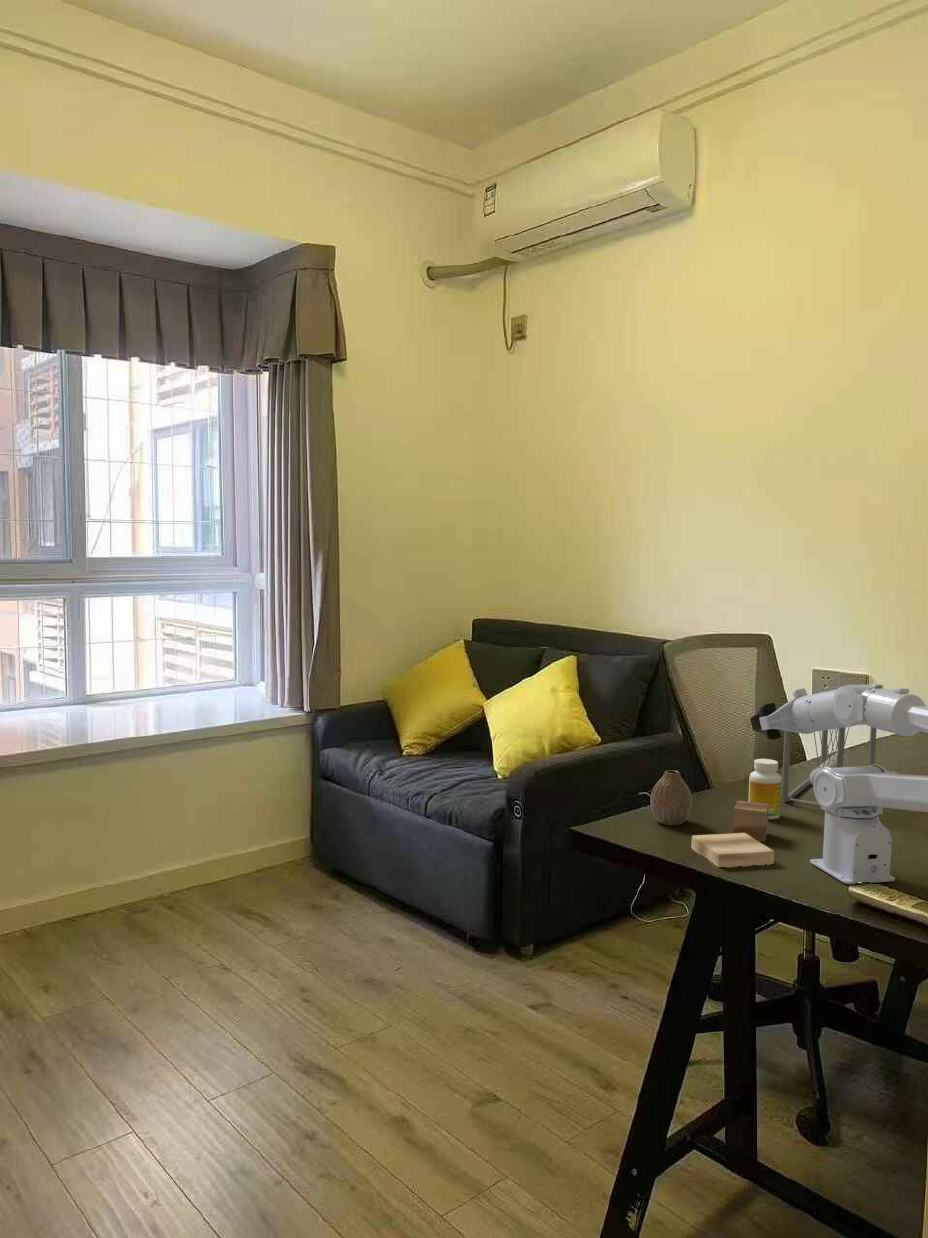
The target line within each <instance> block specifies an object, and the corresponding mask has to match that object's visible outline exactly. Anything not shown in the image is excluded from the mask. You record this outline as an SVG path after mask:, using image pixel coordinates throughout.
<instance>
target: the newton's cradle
mask: <svg viewBox="0 0 928 1238" xmlns="http://www.w3.org/2000/svg"><path fill="white" fill-rule="evenodd" d="M826 691H829V690H828V689H826V688H824V689H822V690H821V691H818V692H817V693H819V692H826ZM846 728H847V733H846ZM849 730H850V727H845V728H837V729H830V730H823V731H818V732H819V738H820V739H819V740H820V745H821V748H820V761H819V756H818V749H817V748H818V747H817V741H816V733H815V732H816V731H815V732H814V733H813V737H814V743H815V744H814V746H815V752H816V759H817V765H818V766H817V767H816V768H814V769H813V770H812V771H811V772H810V774H809V777H807V778H806V779H805V780H804V781H803V782H802V783H800V784H799V785H798V786H797V787H795V788H793V790H791V791H790V792H789V776H790V758H791V741H792V739H791V735H792V732H790V731H785V730H783V731H784V733H783V734H784V736H783V754H782V759H783V760H782V773H781V775H782V776H781V779H782V783H781V799H782V801H783V802H784V803H789V802H797V803H801V804H802V803H803V804H808V805H809V804H810V805H815V806H820V804H819V803H818V802H816V801H811V800H810V801H808V800H801V799H796V798H795V797H797V795H799V794H800V793H801V792H803V791H804V790H805V789H806V788H808V787H809V786H810V785H812V786H813V784H814V779H815V775H816V773H817V772H818V770H820V769H821V768H823V767H830V768H839V767H851V760H850V758H849V756H848V755H846V754H845V746H846V742H847V738H848V735H849ZM877 730H878V729H876V728H872V727H870V731H869V734H870V735H869V746H868V747H869V752H868V765H867V766H869V765H871V764H876V745H877ZM833 733H835V736H834V739H833ZM829 734H830V738H829V740H828V737H829ZM828 741H829V742H828ZM835 741H836V746H835ZM830 744H831V745H830ZM830 746H831V747H832V748H831V751H829V749H830ZM834 746H835V750H834ZM819 762H820V763H819ZM807 786H808V787H807Z"/></svg>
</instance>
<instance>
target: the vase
mask: <svg viewBox="0 0 928 1238" xmlns="http://www.w3.org/2000/svg"><path fill="white" fill-rule="evenodd" d="M690 790H691V789H690V788H689V786H688V785H687V784H686V782H685V781H684V779H683V778H682V776H681V773H680V772H679V771H678V770H673V769H668V770H667V769H666V770H665V771H664V773H663V775H662V776H661V777H660V778H659V780H658V781H657V782H655V784H654V786H653V788H652V791H651V794H650V802H649V803H650V810H651V813H652V816H653V817H654V818H655V819H656V821H657V822H658V823H660V824H662V825H665V826H680V825H682V824H683V823H685V822H686V820H687V819H689V816H690V814H691V811H692V805H693V800H692V799H693V798H692V792H691V791H690Z"/></svg>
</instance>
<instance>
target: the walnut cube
mask: <svg viewBox="0 0 928 1238" xmlns="http://www.w3.org/2000/svg"><path fill="white" fill-rule="evenodd" d="M768 805H769V804H764V803H755V802H748V801H746V800H745V801H744V800H736V803H735V805H734V807H733V808H734V809H733V828H732V829H733V830H732V833H746V834H747V835H749V836H751V837H752V838H754V839H755V840H757V841H759V842H761V841H765V840H766V841H767V836H768V827H769V826H768V825H769V824H768V823H769V819H768ZM766 841H765V842H766Z"/></svg>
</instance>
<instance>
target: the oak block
mask: <svg viewBox="0 0 928 1238" xmlns="http://www.w3.org/2000/svg"><path fill="white" fill-rule="evenodd" d="M691 848H692V849H691V850H693V851H694V852H695V853H697V855H699V856H701V855H702V856H704V857H705V858H707V859H708V860H709V861H710V862H709V861H708V860H707V861H708V862H709V863H711V862H712V863H713V864H714V865H713V864H712V863H711V864H712V865H713V866H715V865H716V866H717V867H726V868H736V867H737V868H739V867H738V866H742V867H753V866H752V865H758V866H771V865H770V864H775V863H774V862H775V850H773V849H771V848H769V847H768V846H767V845H765V844H763V843H762V842H761V841H757V840H755V839H754V838H752V837H751V836H749V835H747V834H746V833H733V832H732V833H731V832H730V833H714V834H697V835H691ZM702 856H701V857H702ZM704 857H703V858H704ZM705 858H704V859H705ZM765 864H767V865H765ZM749 865H750V866H749ZM716 866H715V867H716ZM717 867H716V868H717Z"/></svg>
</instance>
